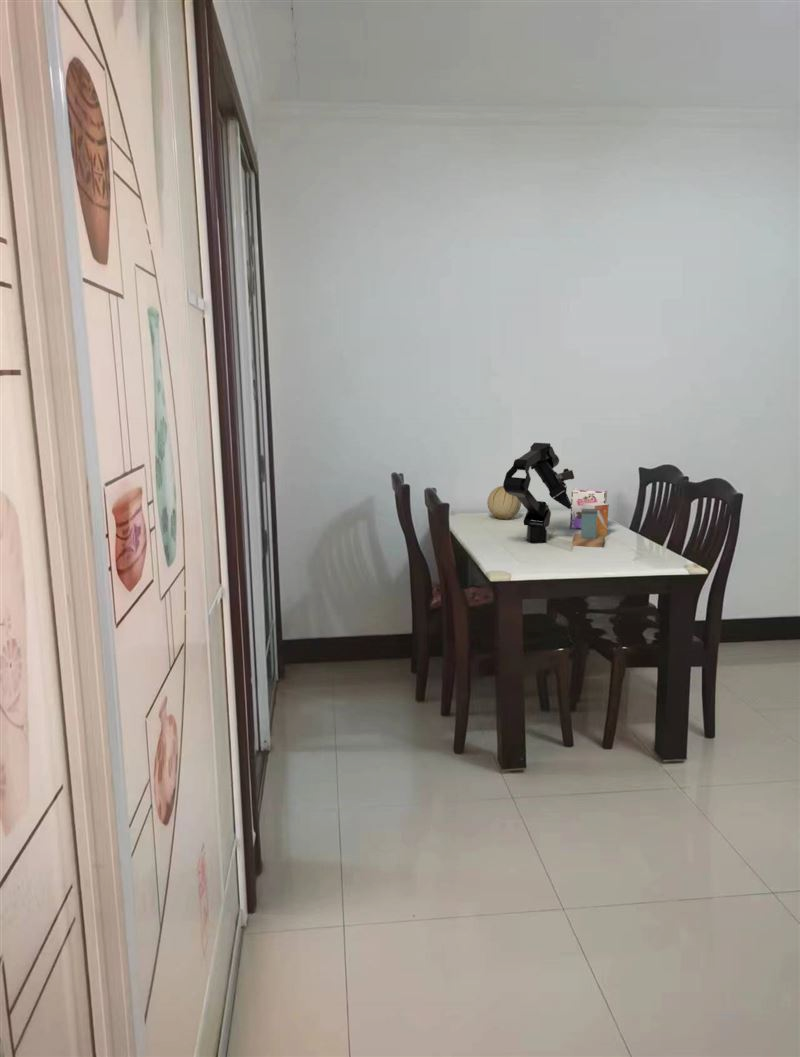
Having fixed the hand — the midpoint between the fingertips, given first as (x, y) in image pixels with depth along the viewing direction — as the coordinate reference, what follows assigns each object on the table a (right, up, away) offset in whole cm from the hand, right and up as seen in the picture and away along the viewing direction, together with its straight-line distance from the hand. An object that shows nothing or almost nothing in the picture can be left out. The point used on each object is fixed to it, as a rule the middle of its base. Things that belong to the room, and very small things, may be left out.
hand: (570, 507), depth 303 cm
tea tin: (+7, -11, -1) cm, 13 cm away
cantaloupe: (-19, -4, +50) cm, 53 cm away
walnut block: (+7, -14, -1) cm, 16 cm away
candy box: (+13, -9, +28) cm, 32 cm away
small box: (+12, -11, +14) cm, 22 cm away
